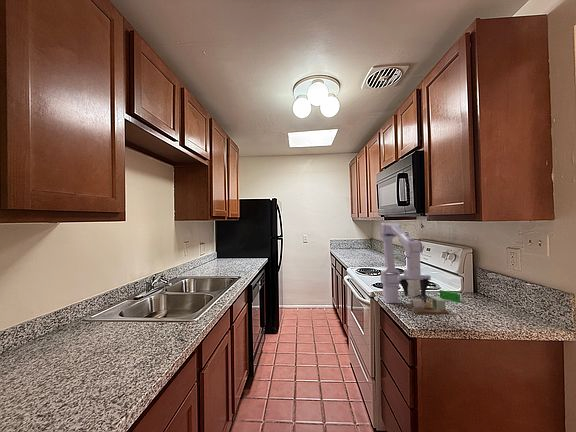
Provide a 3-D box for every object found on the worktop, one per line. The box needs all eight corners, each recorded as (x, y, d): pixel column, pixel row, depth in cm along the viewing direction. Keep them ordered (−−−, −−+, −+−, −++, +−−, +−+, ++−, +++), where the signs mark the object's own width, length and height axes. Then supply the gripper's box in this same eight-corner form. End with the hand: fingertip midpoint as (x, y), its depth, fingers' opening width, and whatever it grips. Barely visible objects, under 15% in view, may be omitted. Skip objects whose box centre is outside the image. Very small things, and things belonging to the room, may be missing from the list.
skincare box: (410, 292, 171) (409, 267, 171) (421, 294, 166) (420, 268, 166) (403, 295, 166) (403, 269, 166) (414, 297, 161) (413, 270, 161)
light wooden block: (412, 305, 140) (411, 292, 140) (428, 305, 139) (427, 292, 140) (414, 307, 137) (414, 293, 137) (431, 307, 136) (430, 293, 137)
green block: (463, 302, 150) (463, 293, 150) (459, 303, 148) (458, 294, 148) (443, 297, 160) (443, 289, 160) (439, 297, 158) (439, 290, 158)
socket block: (431, 305, 141) (431, 296, 141) (438, 305, 141) (437, 296, 141) (438, 309, 134) (437, 300, 134) (445, 309, 134) (445, 300, 134)
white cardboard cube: (410, 306, 140) (410, 298, 140) (420, 306, 140) (420, 298, 140) (414, 309, 136) (413, 301, 136) (424, 309, 136) (424, 301, 136)
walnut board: (406, 306, 144) (406, 304, 144) (435, 305, 144) (435, 304, 144) (416, 314, 132) (416, 311, 132) (448, 313, 132) (448, 311, 132)
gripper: (401, 268, 125) (401, 298, 125) (433, 267, 125) (434, 297, 125) (395, 265, 133) (396, 293, 132) (426, 265, 132) (427, 293, 132)
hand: (414, 295), depth 129 cm, fingers open, 7 cm apart
